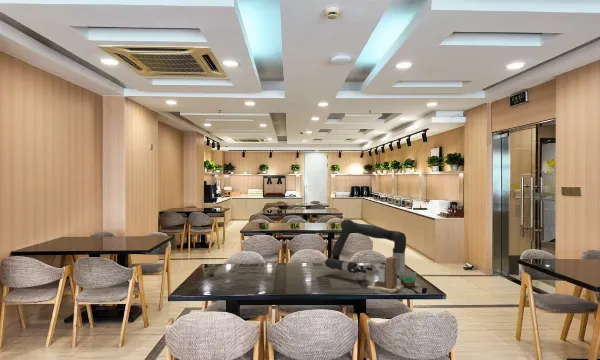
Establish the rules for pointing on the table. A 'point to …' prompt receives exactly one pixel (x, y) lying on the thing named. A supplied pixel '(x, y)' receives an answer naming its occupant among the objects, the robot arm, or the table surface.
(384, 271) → the grey rectangular block
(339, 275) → the table surface
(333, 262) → the robot arm
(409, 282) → the food container
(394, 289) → the wooden backboard stand
